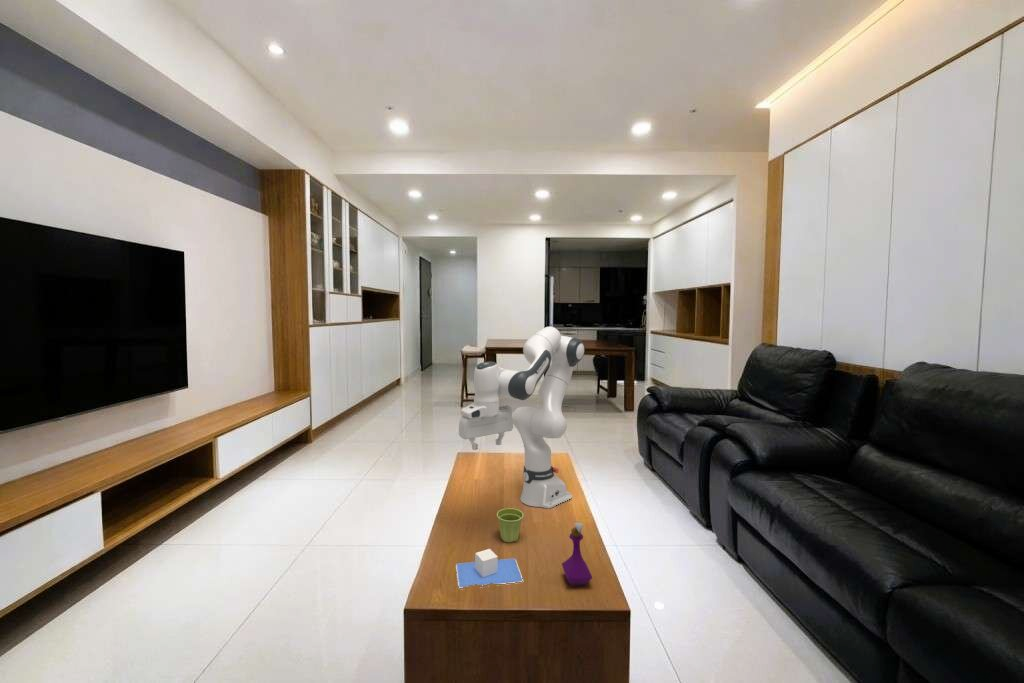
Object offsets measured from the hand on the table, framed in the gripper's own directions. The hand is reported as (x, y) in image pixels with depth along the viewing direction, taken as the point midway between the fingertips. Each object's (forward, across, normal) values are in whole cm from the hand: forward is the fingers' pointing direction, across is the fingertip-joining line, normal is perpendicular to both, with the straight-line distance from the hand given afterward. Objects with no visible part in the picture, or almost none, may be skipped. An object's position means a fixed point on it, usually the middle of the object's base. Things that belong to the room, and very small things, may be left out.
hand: (487, 446), depth 151 cm
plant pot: (+32, -5, +8) cm, 33 cm away
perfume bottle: (+32, -9, +38) cm, 50 cm away
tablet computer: (+32, +11, +22) cm, 40 cm away
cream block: (+31, +12, +21) cm, 39 cm away
